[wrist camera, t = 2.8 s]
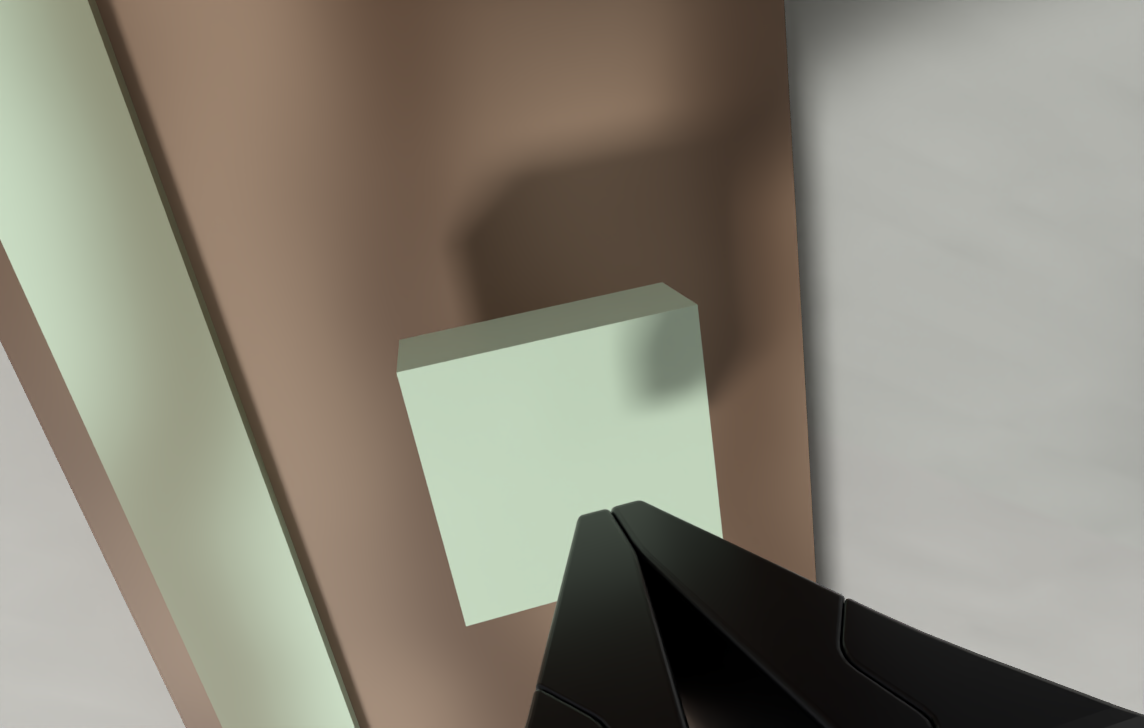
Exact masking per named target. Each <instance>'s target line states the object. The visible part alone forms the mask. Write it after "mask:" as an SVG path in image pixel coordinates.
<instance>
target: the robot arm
mask: <svg viewBox="0 0 1144 728" xmlns="http://www.w3.org/2000/svg"><path fill="white" fill-rule="evenodd" d="M525 728H1144V715H1143V714H1140V713H1137V712H1134V711H1131V710H1128V709H1125V708H1122V707H1119V706H1116V705H1113V704H1111V703H1108V702H1105V701H1103V700H1100V699H1097V698H1095V697H1092V696H1089V695H1087V694H1084V693H1081V692H1079V691H1076V690H1073V689H1071V688H1068V687H1065V686H1063V685H1060V684H1057V683H1055V682H1052V681H1049V680H1047V679H1044V678H1041V677H1039V676H1036V675H1033V674H1031V673H1028V672H1025V671H1023V670H1020V669H1017V668H1015V667H1012V666H1009V665H1007V664H1004V663H1001V662H999V661H996V660H993V659H991V658H988V657H985V656H983V655H980V654H977V653H975V652H972V651H970V650H967V649H965V648H962V647H960V646H957V645H955V644H952V643H950V642H947V641H945V640H942V639H940V638H937V637H935V636H932V635H930V634H927V633H924V632H922V631H920V630H918V629H915V628H913V627H911V626H909V625H906V624H904V623H902V622H900V621H897V620H895V619H893V618H891V617H888V616H886V615H884V614H882V613H879V612H877V611H875V610H873V609H871V608H869V607H867V606H864V605H862V604H860V603H858V602H856V601H854V600H852V599H846V600H845V598H844V596H842V595H841V594H839V593H836V592H834V591H832V590H830V589H828V588H826V587H824V586H822V585H820V584H817V583H815V582H813V581H811V580H809V579H807V578H805V577H803V576H801V575H798V574H796V573H794V572H792V571H790V570H788V569H786V568H784V567H782V566H779V565H777V564H775V563H773V562H771V561H769V560H767V559H765V558H763V557H760V556H758V555H756V554H754V553H752V552H750V551H748V550H746V549H744V548H741V547H739V546H737V545H735V544H733V543H731V542H729V541H727V540H724V539H722V538H720V537H718V536H716V535H714V534H712V533H710V532H708V531H705V530H703V529H701V528H699V527H697V526H695V525H693V524H691V523H689V522H686V521H684V520H682V519H680V518H678V517H676V516H674V515H672V514H670V513H667V512H665V511H663V510H661V509H659V508H657V507H655V506H653V505H651V504H648V503H646V502H644V501H641V500H637V501H633V502H629V503H625V504H621V505H618V506H615V507H613V508H612V510H611V512H610V511H609V510H607V509H602V510H599V511H595V512H591V513H587V514H583V515H581V516H580V517H579V518H578V520H577V523H576V527H575V531H574V535H573V539H572V543H571V547H570V551H569V555H568V559H567V563H566V567H565V571H564V575H563V579H562V583H561V587H560V591H559V595H558V599H557V603H556V607H555V611H554V615H553V619H552V623H551V627H550V631H549V635H548V639H547V643H546V647H545V651H544V655H543V659H542V663H541V667H540V671H539V675H538V679H537V683H536V691H535V692H534V694H533V698H532V702H531V706H530V710H529V713H528V717H527V721H526V724H525Z"/></svg>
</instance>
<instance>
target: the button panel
mask: <svg viewBox="0 0 1144 728" xmlns="http://www.w3.org/2000/svg"><path fill="white" fill-rule="evenodd" d="M661 282H663V283H664V284H666V285H668V286H669V287H671V288H672V289H674V290H675V291H677V292H679V293H680V294H682V295H683V296H685V297H686V298H688V299H690V300H691V301H693V302H694V303H696V304H697V305H698V314H699V323H700V332H701V341H702V350H703V360H704V369H705V378H706V387H707V396H708V405H709V415H710V424H711V433H712V442H713V451H714V461H715V470H716V479H717V488H718V497H719V507H720V516H721V525H722V534H723V539H724V540H727V541H729V542H731V543H733V544H735V545H737V546H739V547H741V548H744V549H746V550H748V551H750V552H752V553H754V554H756V555H758V556H760V557H763V558H765V559H767V560H769V561H771V562H773V563H775V564H777V565H779V566H782V567H784V568H786V569H788V570H790V571H792V572H794V573H796V574H798V575H801V576H803V577H805V578H807V579H809V580H811V581H813V582H815V583H816V571H815V553H814V535H813V517H812V499H811V480H810V462H809V444H808V426H807V408H806V390H805V372H804V354H803V335H802V317H801V299H800V281H799V263H798V245H797V227H796V209H795V190H794V172H793V154H792V136H791V118H790V100H789V82H788V64H787V45H786V27H785V9H784V0H0V341H1V343H2V345H3V347H4V349H5V351H6V353H7V355H8V358H9V360H10V362H11V364H12V366H13V368H14V370H15V372H16V374H17V376H18V378H19V381H20V383H21V385H22V387H23V389H24V391H25V393H26V395H27V397H28V399H29V401H30V403H31V406H32V408H33V410H34V412H35V414H36V416H37V418H38V420H39V422H40V424H41V426H42V429H43V431H44V433H45V435H46V437H47V439H48V441H49V443H50V445H51V447H52V449H53V451H54V454H55V456H56V458H57V460H58V462H59V464H60V466H61V468H62V470H63V472H64V474H65V476H66V479H67V481H68V483H69V485H70V487H71V489H72V491H73V493H74V495H75V497H76V499H77V502H78V504H79V506H80V508H81V510H82V512H83V514H84V516H85V518H86V520H87V522H88V524H89V527H90V529H91V531H92V533H93V535H94V537H95V539H96V541H97V543H98V545H99V547H100V549H101V552H102V554H103V556H104V558H105V560H106V562H107V564H108V566H109V568H110V570H111V572H112V575H113V577H114V579H115V581H116V583H117V585H118V587H119V589H120V591H121V593H122V595H123V597H124V600H125V602H126V604H127V606H128V608H129V610H130V612H131V614H132V616H133V618H134V620H135V623H136V625H137V627H138V629H139V631H140V633H141V635H142V637H143V639H144V641H145V643H146V645H147V648H148V650H149V652H150V654H151V656H152V658H153V660H154V662H155V664H156V666H157V668H158V670H159V673H160V675H161V677H162V679H163V681H164V683H165V685H166V687H167V689H168V691H169V693H170V696H171V698H172V700H173V702H174V704H175V706H176V708H177V710H178V712H179V714H180V716H181V718H182V721H183V723H184V725H185V727H186V728H525V724H526V721H527V717H528V713H529V710H530V706H531V702H532V698H533V694H534V692H535V691H536V683H537V679H538V675H539V671H540V667H541V663H542V659H543V655H544V651H545V647H546V643H547V639H548V635H549V631H550V627H551V623H552V619H553V615H554V611H555V607H556V603H557V601H556V602H552V603H549V604H545V605H541V606H538V607H534V608H531V609H527V610H523V611H520V612H516V613H513V614H509V615H505V616H502V617H498V618H495V619H491V620H487V621H484V622H480V623H477V624H473V625H469V626H466V624H465V621H464V617H463V613H462V610H461V606H460V602H459V599H458V595H457V591H456V588H455V584H454V580H453V577H452V573H451V570H450V566H449V562H448V559H447V555H446V551H445V548H444V544H443V540H442V537H441V533H440V530H439V526H438V522H437V519H436V515H435V511H434V508H433V504H432V500H431V497H430V493H429V489H428V486H427V482H426V479H425V475H424V471H423V468H422V464H421V460H420V457H419V453H418V449H417V446H416V442H415V438H414V435H413V431H412V428H411V424H410V420H409V417H408V413H407V409H406V406H405V402H404V398H403V395H402V391H401V388H400V384H399V380H398V377H397V373H396V372H397V361H398V349H399V340H401V339H406V338H410V337H415V336H419V335H424V334H428V333H433V332H438V331H442V330H447V329H451V328H456V327H460V326H465V325H469V324H474V323H479V322H483V321H488V320H492V319H497V318H501V317H506V316H510V315H515V314H519V313H524V312H529V311H533V310H538V309H542V308H547V307H551V306H556V305H560V304H565V303H570V302H574V301H579V300H583V299H588V298H592V297H597V296H601V295H606V294H611V293H615V292H620V291H624V290H629V289H633V288H638V287H642V286H647V285H652V284H656V283H661Z"/></svg>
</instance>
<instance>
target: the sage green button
mask: <svg viewBox="0 0 1144 728" xmlns="http://www.w3.org/2000/svg"><path fill="white" fill-rule="evenodd" d="M396 373H397V377H398V380H399V384H400V388H401V391H402V395H403V398H404V402H405V406H406V409H407V413H408V417H409V420H410V424H411V428H412V431H413V435H414V438H415V442H416V446H417V449H418V453H419V457H420V460H421V464H422V468H423V471H424V475H425V479H426V482H427V486H428V489H429V493H430V497H431V500H432V504H433V508H434V511H435V515H436V519H437V522H438V526H439V530H440V533H441V537H442V540H443V544H444V548H445V551H446V555H447V559H448V562H449V566H450V570H451V573H452V577H453V580H454V584H455V588H456V591H457V595H458V599H459V602H460V606H461V610H462V613H463V617H464V621H465V624H466V626H469V625H473V624H477V623H480V622H484V621H487V620H491V619H495V618H498V617H502V616H505V615H509V614H513V613H516V612H520V611H523V610H527V609H531V608H534V607H538V606H541V605H545V604H549V603H552V602H556V601H557V599H558V595H559V591H560V587H561V583H562V579H563V575H564V571H565V567H566V563H567V559H568V555H569V551H570V547H571V543H572V539H573V535H574V531H575V527H576V523H577V520H578V518H579V517H580V516H581V515H583V514H587V513H591V512H595V511H599V510H602V509H607V510H609V511H610V512H611V510H612V508H613V507H615V506H618V505H621V504H625V503H629V502H633V501H637V500H641V501H644V502H646V503H648V504H651V505H653V506H655V507H657V508H659V509H661V510H663V511H665V512H667V513H670V514H672V515H674V516H676V517H678V518H680V519H682V520H684V521H686V522H689V523H691V524H693V525H695V526H697V527H699V528H701V529H703V530H705V531H708V532H710V533H712V534H714V535H716V536H718V537H720V538H722V539H723V534H722V525H721V516H720V507H719V497H718V488H717V479H716V470H715V461H714V451H713V442H712V433H711V424H710V415H709V405H708V396H707V387H706V378H705V369H704V360H703V350H702V341H701V332H700V323H699V314H698V305H697V304H696V303H694V302H693V301H691V300H690V299H688V298H686V297H685V296H683V295H682V294H680V293H679V292H677V291H675V290H674V289H672V288H671V287H669V286H668V285H666V284H664V283H663V282H661V283H656V284H652V285H647V286H642V287H638V288H633V289H629V290H624V291H620V292H615V293H611V294H606V295H601V296H597V297H592V298H588V299H583V300H579V301H574V302H570V303H565V304H560V305H556V306H551V307H547V308H542V309H538V310H533V311H529V312H524V313H519V314H515V315H510V316H506V317H501V318H497V319H492V320H488V321H483V322H479V323H474V324H469V325H465V326H460V327H456V328H451V329H447V330H442V331H438V332H433V333H428V334H424V335H419V336H415V337H410V338H406V339H401V340H399V349H398V361H397V372H396Z"/></svg>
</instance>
